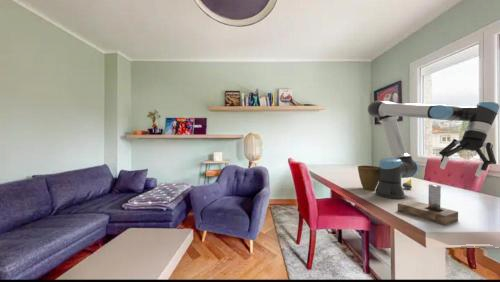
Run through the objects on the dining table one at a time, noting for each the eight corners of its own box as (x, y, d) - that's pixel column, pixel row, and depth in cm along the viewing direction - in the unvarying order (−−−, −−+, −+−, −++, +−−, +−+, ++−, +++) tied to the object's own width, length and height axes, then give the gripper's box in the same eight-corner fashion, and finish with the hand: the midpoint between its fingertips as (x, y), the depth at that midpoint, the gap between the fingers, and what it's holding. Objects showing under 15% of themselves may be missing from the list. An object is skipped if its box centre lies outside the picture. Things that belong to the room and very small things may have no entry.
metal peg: (426, 214, 92) (426, 184, 92) (431, 213, 93) (431, 183, 93) (437, 218, 88) (437, 186, 88) (442, 216, 90) (442, 185, 90)
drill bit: (399, 188, 145) (405, 178, 148) (408, 192, 142) (413, 182, 145) (402, 185, 141) (408, 175, 144) (410, 190, 138) (416, 179, 141)
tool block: (397, 210, 99) (397, 203, 99) (410, 207, 104) (411, 200, 104) (444, 225, 83) (445, 216, 83) (458, 220, 88) (458, 211, 88)
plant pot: (352, 187, 146) (352, 165, 145) (367, 186, 151) (367, 165, 150) (370, 192, 132) (371, 168, 131) (386, 191, 137) (387, 168, 136)
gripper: (519, 138, 86) (499, 182, 86) (449, 133, 110) (433, 168, 110) (511, 131, 84) (490, 177, 84) (441, 127, 108) (425, 163, 108)
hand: (458, 172), depth 97 cm, fingers open, 13 cm apart
